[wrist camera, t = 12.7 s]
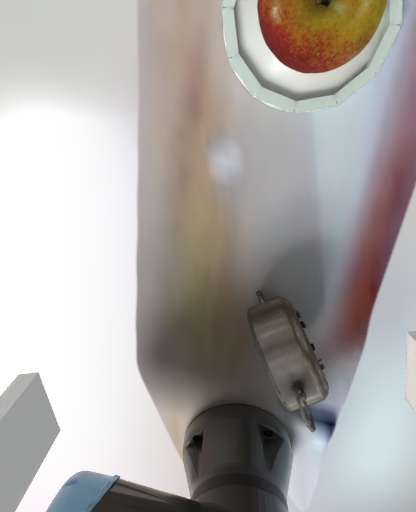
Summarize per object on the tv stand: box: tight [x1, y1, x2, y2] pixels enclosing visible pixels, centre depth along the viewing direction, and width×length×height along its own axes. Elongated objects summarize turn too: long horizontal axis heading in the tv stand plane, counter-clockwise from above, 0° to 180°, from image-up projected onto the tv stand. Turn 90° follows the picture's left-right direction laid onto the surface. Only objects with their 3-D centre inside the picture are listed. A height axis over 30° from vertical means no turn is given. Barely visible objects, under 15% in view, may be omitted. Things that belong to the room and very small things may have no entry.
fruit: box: [257, 0, 387, 74], centre depth 26 cm, size 10×9×8 cm
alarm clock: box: [247, 291, 328, 432], centre depth 34 cm, size 11×5×16 cm, turn 26°
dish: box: [222, 0, 403, 113], centre depth 30 cm, size 15×15×2 cm
